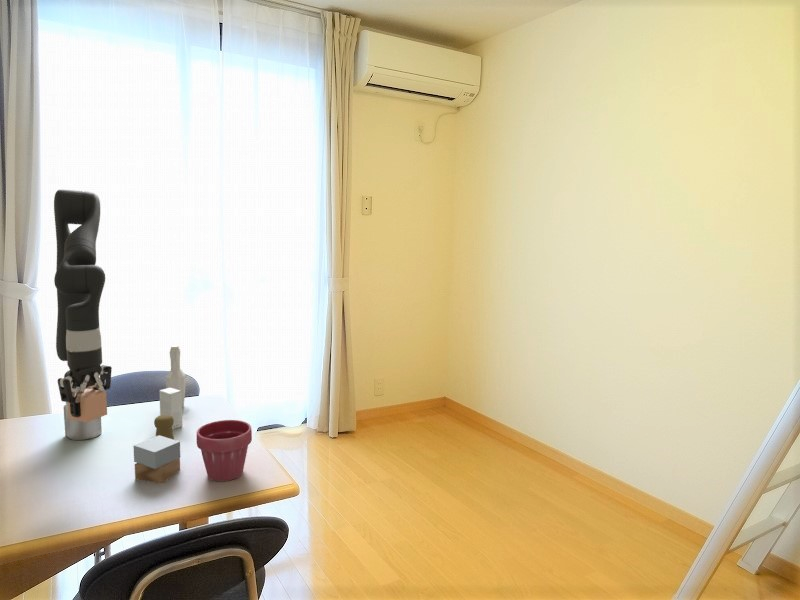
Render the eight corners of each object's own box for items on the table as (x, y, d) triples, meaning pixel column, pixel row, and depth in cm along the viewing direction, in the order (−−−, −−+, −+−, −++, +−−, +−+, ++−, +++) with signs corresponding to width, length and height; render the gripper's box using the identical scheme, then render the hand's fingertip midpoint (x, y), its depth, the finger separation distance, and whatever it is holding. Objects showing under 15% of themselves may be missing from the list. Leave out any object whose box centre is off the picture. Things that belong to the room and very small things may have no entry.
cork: (162, 458, 162) (161, 421, 160) (149, 453, 165) (147, 416, 163) (180, 451, 167) (179, 415, 165) (167, 446, 170) (166, 410, 168)
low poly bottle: (163, 408, 201) (161, 347, 197) (173, 402, 207) (171, 343, 203) (180, 410, 200) (178, 349, 196) (189, 404, 206) (188, 344, 202)
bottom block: (135, 480, 149) (134, 464, 148) (153, 467, 157) (152, 451, 156) (163, 483, 148) (163, 467, 147) (180, 470, 156) (179, 454, 155)
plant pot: (195, 466, 157) (194, 422, 155) (247, 459, 163) (246, 416, 161) (200, 490, 145) (198, 442, 142) (256, 481, 150) (256, 435, 148)
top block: (134, 461, 150) (133, 445, 149) (159, 450, 157) (159, 435, 156) (155, 468, 146) (154, 452, 145) (180, 457, 153) (179, 441, 152)
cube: (68, 418, 141) (67, 395, 140) (88, 410, 146) (87, 388, 145) (87, 422, 139) (85, 398, 138) (107, 414, 144) (106, 391, 143)
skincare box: (183, 426, 186) (182, 390, 184) (171, 430, 182) (170, 394, 180) (171, 421, 189) (170, 387, 187) (159, 425, 185) (158, 390, 183)
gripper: (96, 338, 147) (99, 401, 150) (46, 351, 134) (50, 419, 137) (119, 342, 145) (122, 405, 148) (70, 354, 132) (74, 424, 134)
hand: (87, 411), depth 142 cm, fingers closed on cube, 6 cm apart
